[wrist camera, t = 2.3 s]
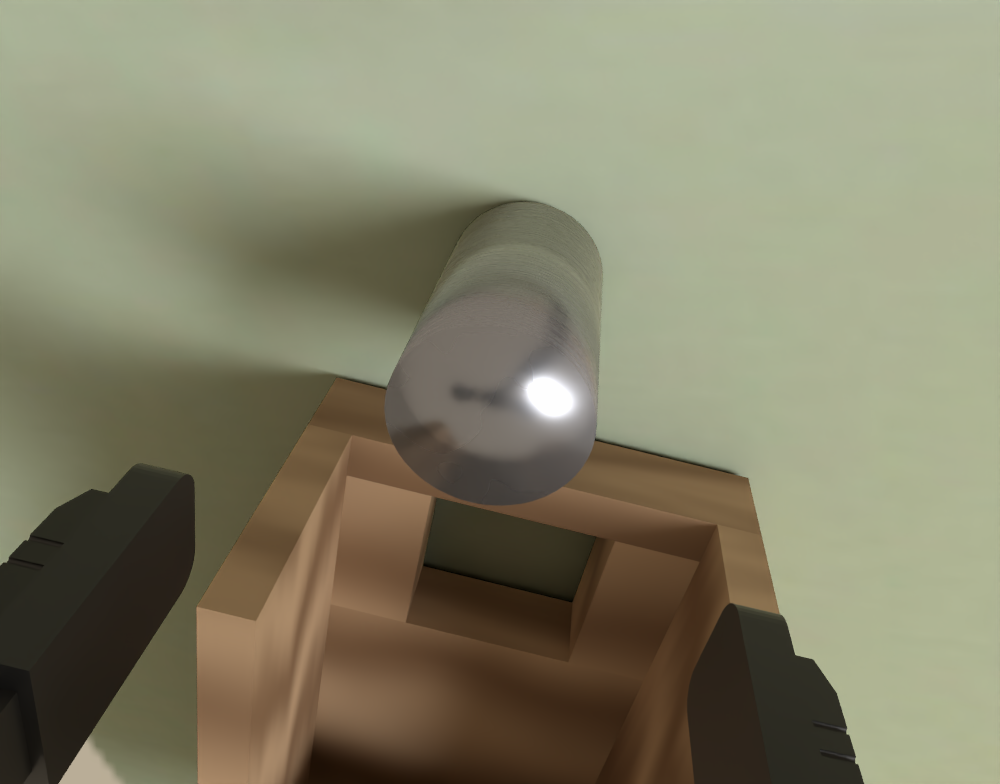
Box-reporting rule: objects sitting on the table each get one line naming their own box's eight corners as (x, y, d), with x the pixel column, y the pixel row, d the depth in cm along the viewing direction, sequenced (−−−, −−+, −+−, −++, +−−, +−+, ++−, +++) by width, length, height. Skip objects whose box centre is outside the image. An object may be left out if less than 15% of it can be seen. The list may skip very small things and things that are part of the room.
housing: (336, 377, 23) (196, 606, 15) (748, 478, 23) (813, 757, 15) (291, 793, 35) (199, 1041, 27) (564, 860, 35) (549, 1127, 27)
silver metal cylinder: (465, 185, 20) (399, 301, 14) (621, 223, 20) (623, 356, 14) (439, 324, 22) (372, 478, 16) (580, 359, 22) (566, 525, 16)
